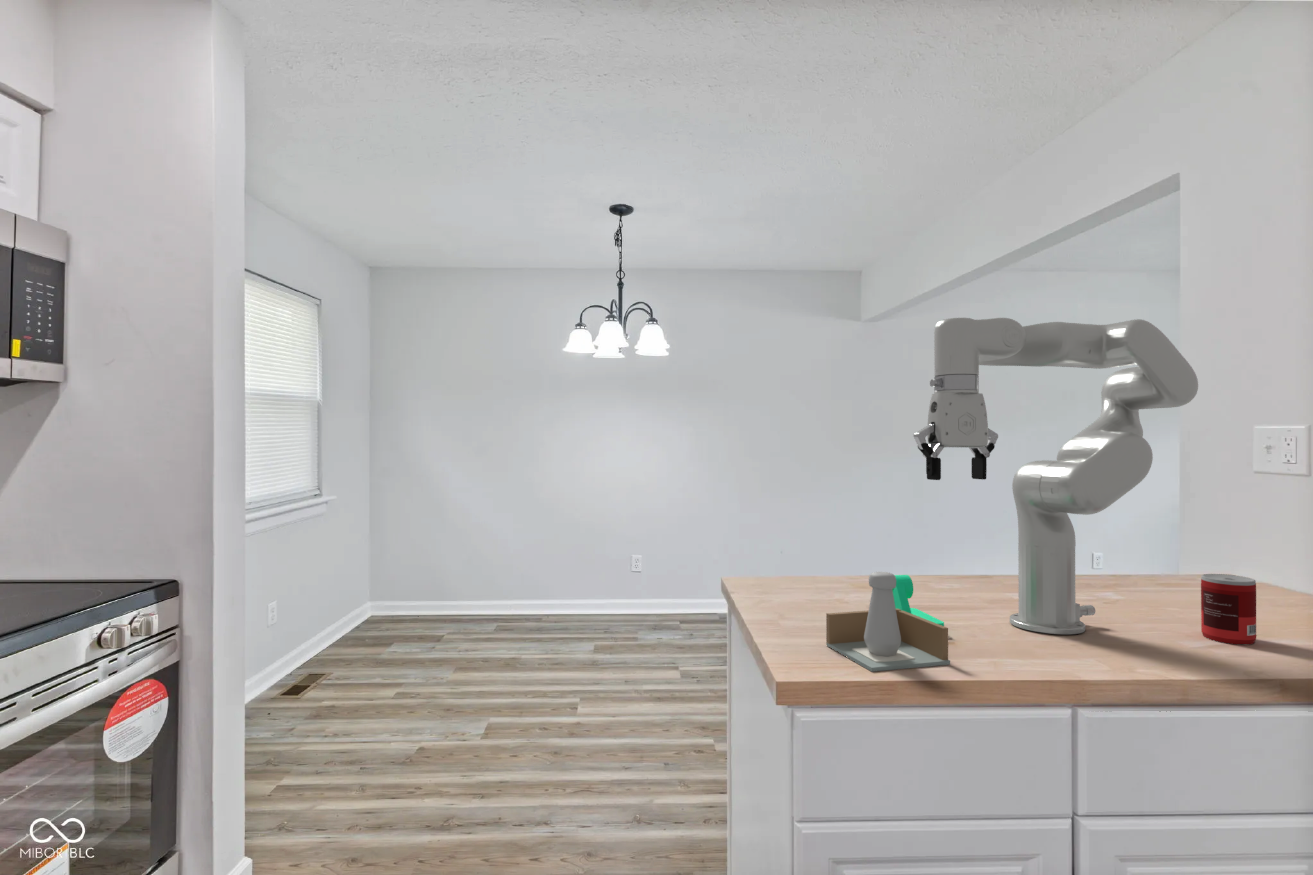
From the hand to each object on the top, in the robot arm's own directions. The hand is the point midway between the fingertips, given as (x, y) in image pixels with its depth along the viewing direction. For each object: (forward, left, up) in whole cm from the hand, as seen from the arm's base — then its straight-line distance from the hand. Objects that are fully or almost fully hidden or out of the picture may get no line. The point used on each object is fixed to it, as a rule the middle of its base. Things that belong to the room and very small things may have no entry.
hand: (956, 479), depth 128 cm
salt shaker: (+22, +9, -28) cm, 36 cm away
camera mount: (+6, -5, -29) cm, 30 cm away
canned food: (-45, +15, -28) cm, 55 cm away
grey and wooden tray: (+20, +8, -28) cm, 36 cm away
